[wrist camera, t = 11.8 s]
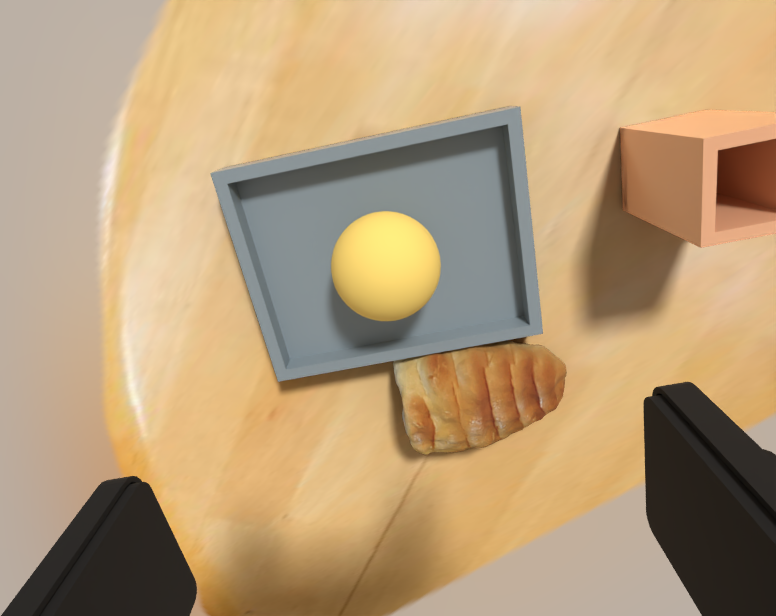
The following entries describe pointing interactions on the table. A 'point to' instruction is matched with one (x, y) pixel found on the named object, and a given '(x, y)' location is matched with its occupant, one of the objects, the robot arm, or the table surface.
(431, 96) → the table surface
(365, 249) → the ball
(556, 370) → the pastry
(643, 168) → the open box
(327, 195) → the tray
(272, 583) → the table surface
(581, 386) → the table surface
